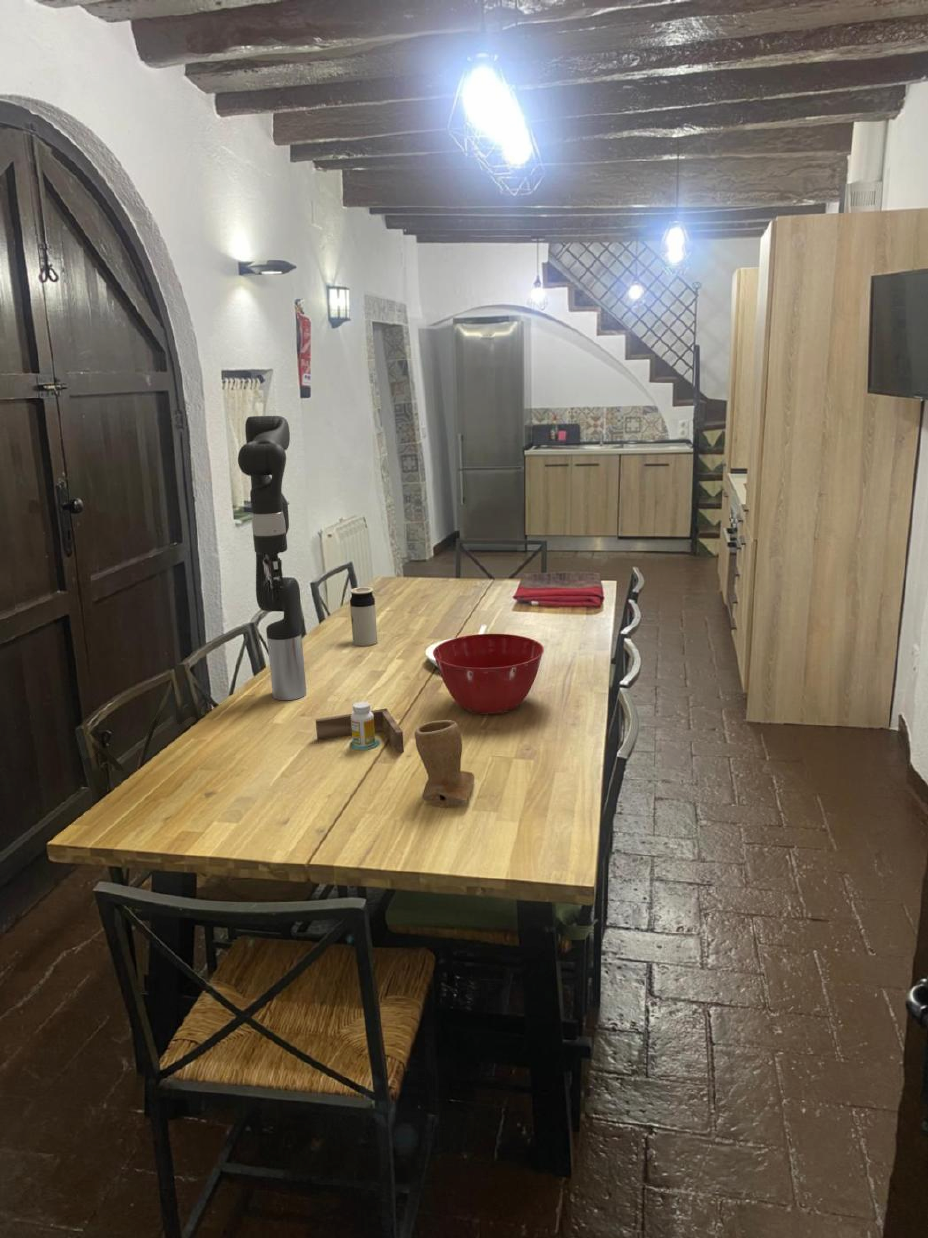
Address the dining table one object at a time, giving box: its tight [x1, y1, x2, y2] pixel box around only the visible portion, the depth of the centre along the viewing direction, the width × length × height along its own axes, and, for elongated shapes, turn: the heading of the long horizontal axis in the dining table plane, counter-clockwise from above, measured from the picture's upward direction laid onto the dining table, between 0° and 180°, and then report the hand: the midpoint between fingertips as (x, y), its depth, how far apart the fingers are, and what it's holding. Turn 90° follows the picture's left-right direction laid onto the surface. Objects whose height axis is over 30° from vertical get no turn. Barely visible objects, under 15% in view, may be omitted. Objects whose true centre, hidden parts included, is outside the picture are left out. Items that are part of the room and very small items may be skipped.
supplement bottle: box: [351, 701, 376, 747], centre depth 211 cm, size 5×5×10 cm
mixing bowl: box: [433, 633, 545, 715], centre depth 232 cm, size 28×28×16 cm
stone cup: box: [414, 719, 475, 808], centre depth 184 cm, size 15×12×15 cm
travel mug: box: [349, 586, 378, 647], centre depth 290 cm, size 8×8×18 cm
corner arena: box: [315, 708, 405, 754], centre depth 211 cm, size 16×18×5 cm
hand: (275, 599), depth 211 cm, fingers open, 8 cm apart
